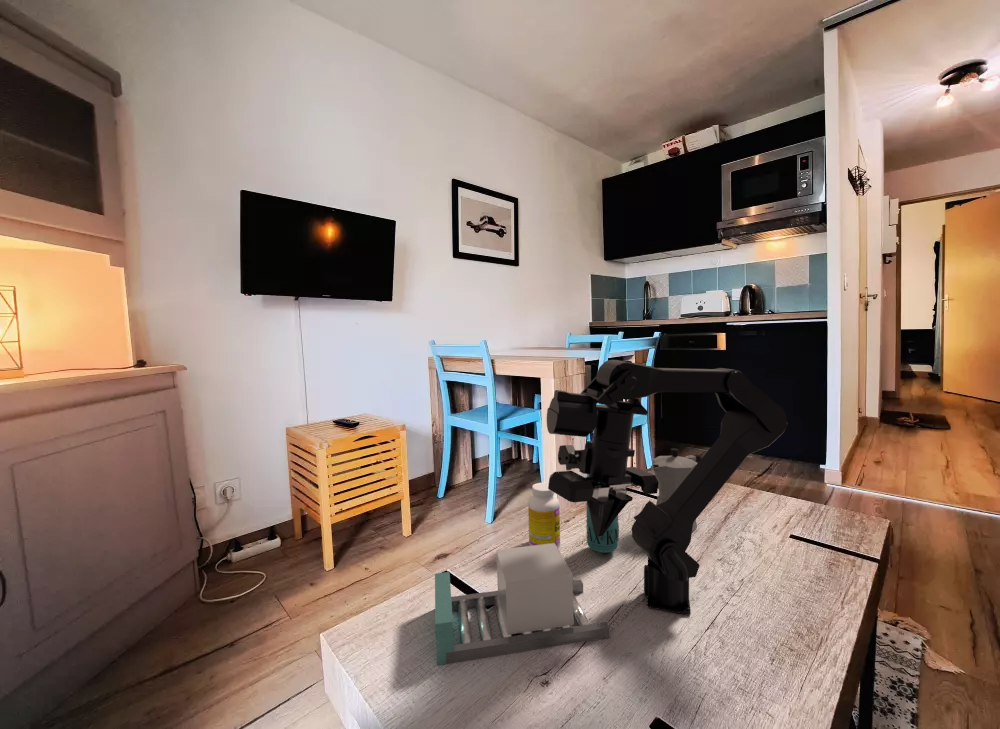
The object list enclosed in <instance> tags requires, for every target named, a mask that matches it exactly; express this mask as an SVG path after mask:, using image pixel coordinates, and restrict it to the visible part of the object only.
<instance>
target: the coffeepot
mask: <svg viewBox="0 0 1000 729" xmlns="http://www.w3.org/2000/svg"><path fill="white" fill-rule="evenodd" d="M670 453H671V455H659V456H656V457H655V458H653V459H652V465H650V469H651V470H652V471H653V472H654V475H655V476H656V478H657V480H658V482H659V483H658V496H657V497H656V498H657V499H656V503H655V505H658V504H661V503H663V502H666V501H667V500H668V499H669V498H670V497H671V495H672V494H673V493H674V492H675V490H676V489H677V488H678V487H679V486H680V484H681V483H682V482H683V481H684V479H685V478H686V477H687V476H688V475H689V473H690V472H691V471H692V470H693V468H694V467H695V466H696V465H697V464H698V462H699V461H700V460H701V459H702V457H703V456H701V455H700V454H698V453H697V454H692V455H691V454H690V455H686V456H679V449H678V448H670ZM697 528H698V524H697V519H696V520H695V521H694V523H693V528H692V534H694V533H695V531H696V529H697Z"/></svg>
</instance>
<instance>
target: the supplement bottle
mask: <svg viewBox="0 0 1000 729" xmlns="http://www.w3.org/2000/svg"><path fill="white" fill-rule="evenodd" d="M548 485H549V482H537V483H534V484H532V488H531V490H532V491H531V492H532V496H531V497H530V498H529V499H528V502H527V508H528V510H527V512H528V514H527V515H528V518H527V519H528V543H529V546H534V545H542V544H551V543H555V545H556V546H557V548H558V549H559V548H560V545H561V517H560V516H561V512H560V501H559V498H557V496H555V493H554V492H553V491H551V490H549V489H548Z"/></svg>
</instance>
